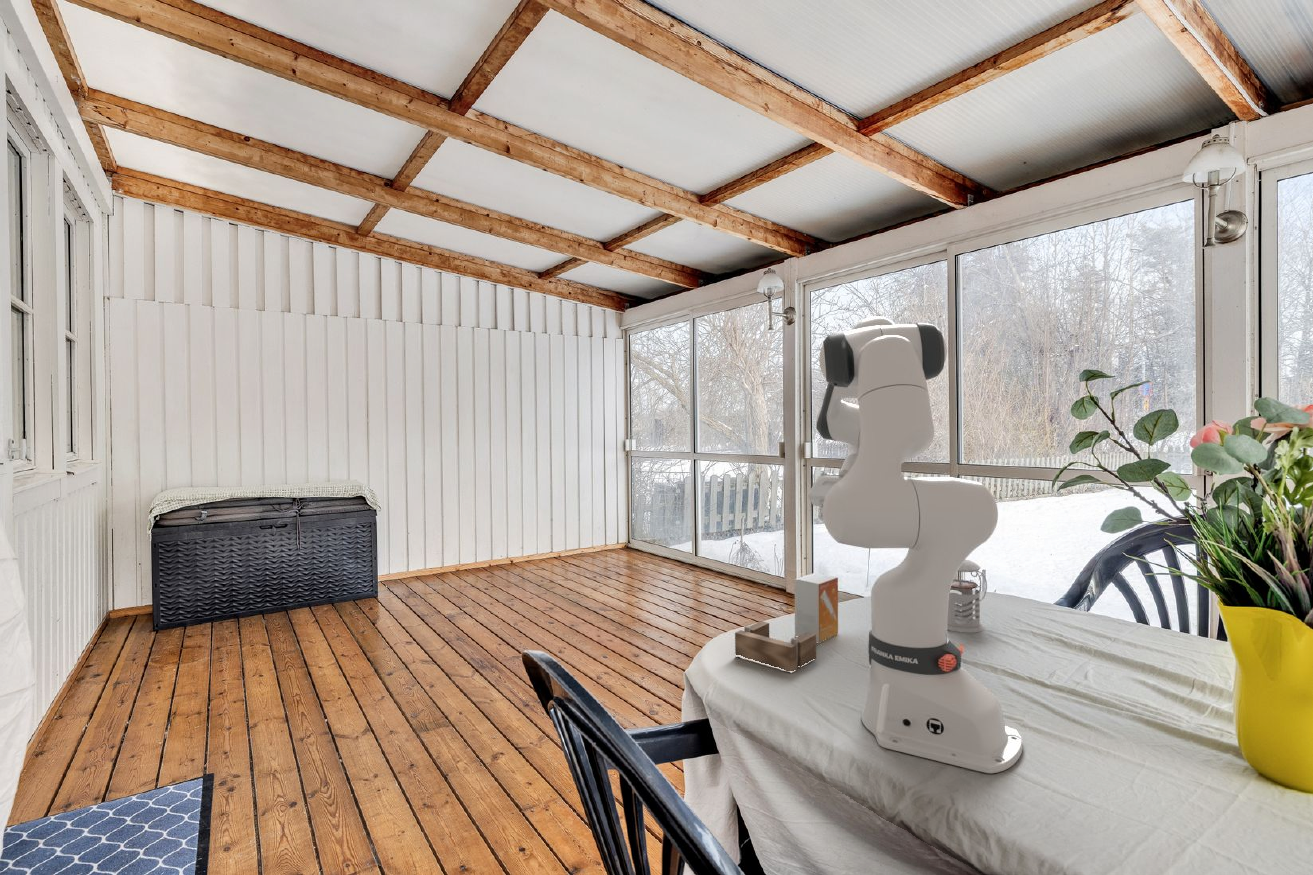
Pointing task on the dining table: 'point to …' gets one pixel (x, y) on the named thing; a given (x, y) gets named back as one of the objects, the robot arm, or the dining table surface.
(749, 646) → the brown u-shaped piece
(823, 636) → the small box
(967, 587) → the french press
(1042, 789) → the dining table surface
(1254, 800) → the dining table surface
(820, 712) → the dining table surface
